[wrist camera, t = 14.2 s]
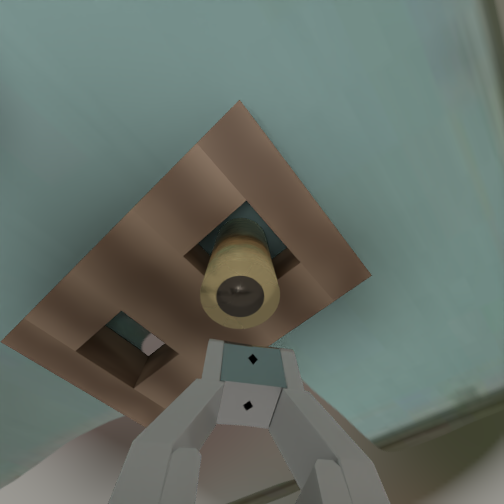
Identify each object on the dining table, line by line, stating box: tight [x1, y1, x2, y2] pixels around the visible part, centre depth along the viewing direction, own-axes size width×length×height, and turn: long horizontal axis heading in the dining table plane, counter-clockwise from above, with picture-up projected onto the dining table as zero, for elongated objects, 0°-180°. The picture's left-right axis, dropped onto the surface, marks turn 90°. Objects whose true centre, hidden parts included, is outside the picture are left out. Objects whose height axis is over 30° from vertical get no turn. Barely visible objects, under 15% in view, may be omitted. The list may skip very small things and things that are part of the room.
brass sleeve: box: [200, 218, 280, 329], centre depth 16 cm, size 4×4×8 cm
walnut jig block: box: [1, 100, 372, 428], centre depth 19 cm, size 24×14×4 cm, turn 131°
